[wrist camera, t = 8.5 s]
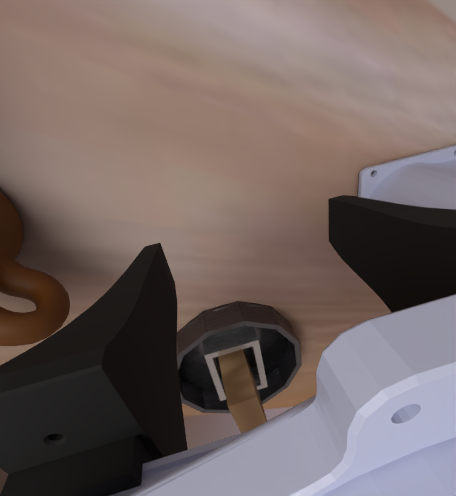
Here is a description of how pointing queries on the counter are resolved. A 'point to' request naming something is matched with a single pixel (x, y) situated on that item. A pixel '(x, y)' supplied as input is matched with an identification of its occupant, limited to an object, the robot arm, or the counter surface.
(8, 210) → the mug
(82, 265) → the counter surface
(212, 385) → the bowl
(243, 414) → the wooden block
